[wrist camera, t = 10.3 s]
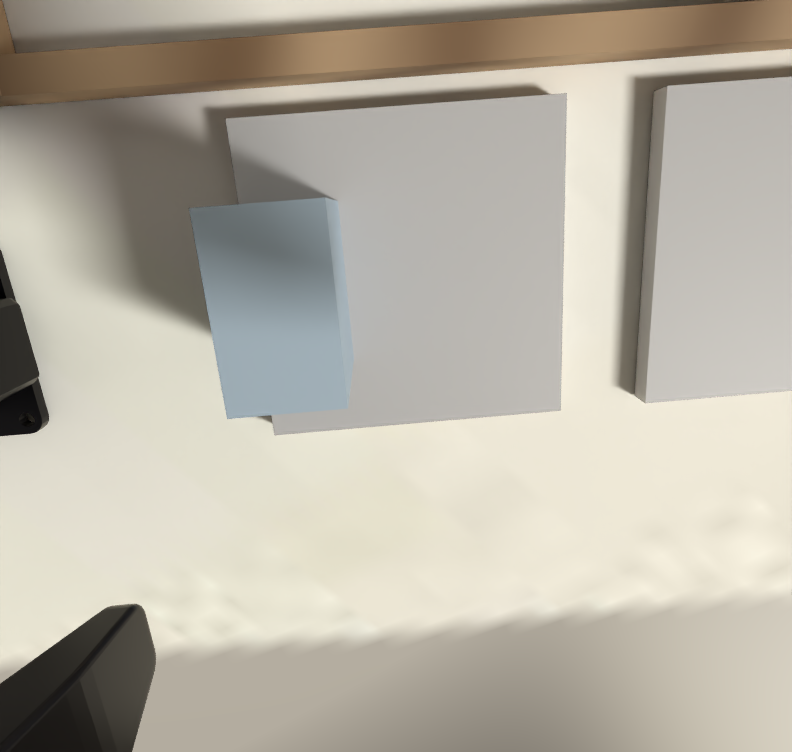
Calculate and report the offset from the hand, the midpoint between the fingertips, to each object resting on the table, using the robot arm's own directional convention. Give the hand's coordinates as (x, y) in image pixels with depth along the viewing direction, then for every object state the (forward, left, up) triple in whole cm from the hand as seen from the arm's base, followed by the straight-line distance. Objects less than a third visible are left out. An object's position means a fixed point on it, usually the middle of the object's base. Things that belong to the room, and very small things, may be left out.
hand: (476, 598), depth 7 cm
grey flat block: (+8, +3, -12) cm, 15 cm away
